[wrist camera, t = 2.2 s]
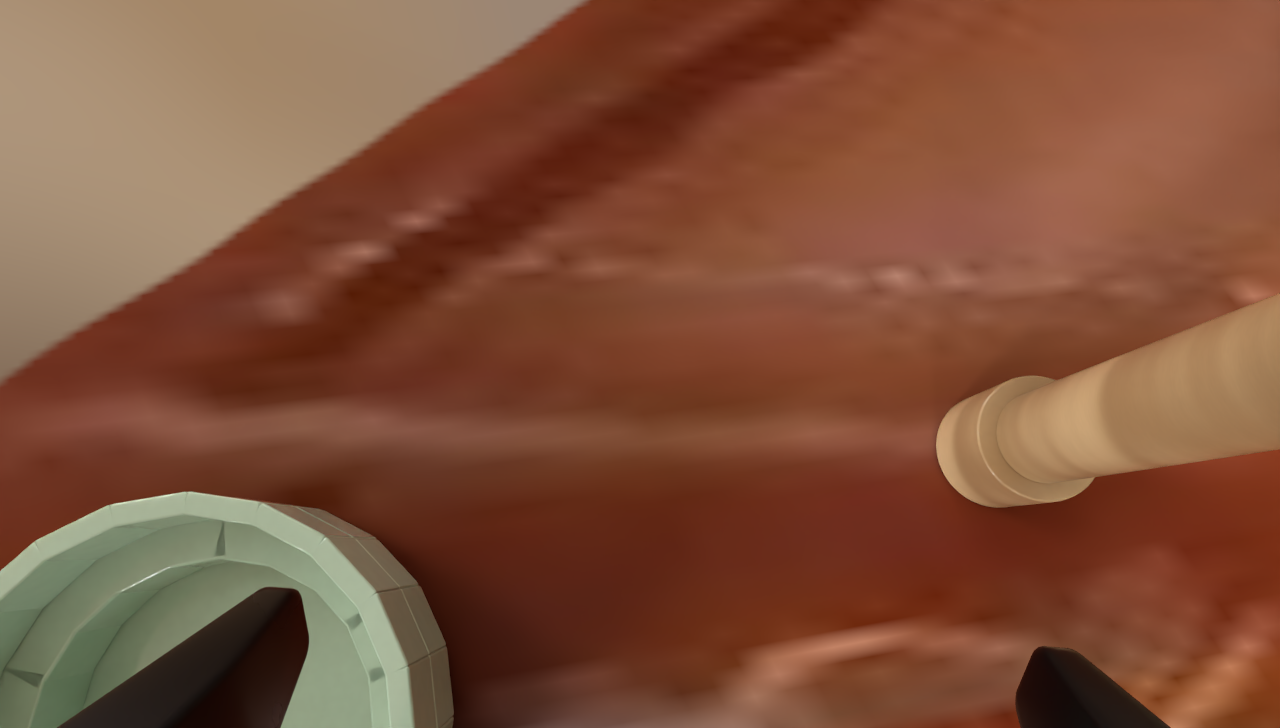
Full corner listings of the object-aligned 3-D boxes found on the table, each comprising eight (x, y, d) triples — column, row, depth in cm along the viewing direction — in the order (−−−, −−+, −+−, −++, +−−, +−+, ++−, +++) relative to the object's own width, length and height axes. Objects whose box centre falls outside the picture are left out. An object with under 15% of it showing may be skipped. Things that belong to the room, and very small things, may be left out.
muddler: (1062, 425, 24) (1530, 293, 12) (1026, 527, 23) (1486, 505, 11) (958, 377, 25) (1302, 198, 12) (918, 476, 24) (1243, 396, 11)
